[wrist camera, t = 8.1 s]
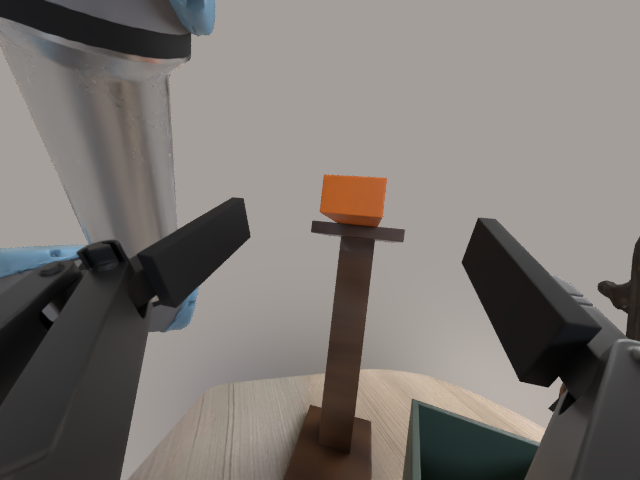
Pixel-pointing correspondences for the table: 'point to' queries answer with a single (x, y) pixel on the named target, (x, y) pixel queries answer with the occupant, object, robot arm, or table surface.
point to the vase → (625, 299)
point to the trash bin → (462, 448)
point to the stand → (342, 367)
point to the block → (353, 199)
